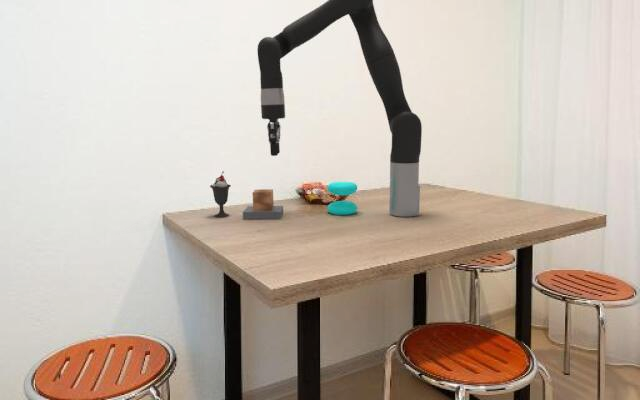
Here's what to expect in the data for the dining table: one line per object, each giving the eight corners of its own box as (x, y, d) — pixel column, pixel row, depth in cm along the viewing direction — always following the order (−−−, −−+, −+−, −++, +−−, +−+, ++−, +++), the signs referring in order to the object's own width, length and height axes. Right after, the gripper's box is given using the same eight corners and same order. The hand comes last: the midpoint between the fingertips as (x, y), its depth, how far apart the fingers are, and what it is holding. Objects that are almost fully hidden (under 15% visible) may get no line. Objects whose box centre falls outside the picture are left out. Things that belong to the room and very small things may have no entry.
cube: (273, 207, 161) (273, 189, 160) (272, 210, 155) (271, 192, 154) (255, 207, 161) (254, 189, 160) (253, 210, 155) (252, 192, 154)
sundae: (227, 218, 157) (225, 172, 154) (208, 217, 158) (206, 171, 155) (235, 213, 163) (233, 169, 160) (216, 213, 164) (214, 169, 162)
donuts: (335, 186, 155) (322, 182, 164) (336, 217, 157) (322, 211, 166) (362, 184, 159) (348, 180, 168) (362, 213, 161) (348, 208, 170)
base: (283, 214, 164) (283, 205, 163) (280, 221, 154) (280, 211, 154) (247, 214, 164) (247, 206, 164) (243, 221, 154) (242, 212, 154)
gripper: (283, 102, 147) (285, 156, 150) (285, 103, 161) (288, 152, 164) (258, 103, 147) (261, 157, 150) (263, 104, 161) (265, 153, 164)
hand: (275, 154), depth 157 cm, fingers open, 8 cm apart
